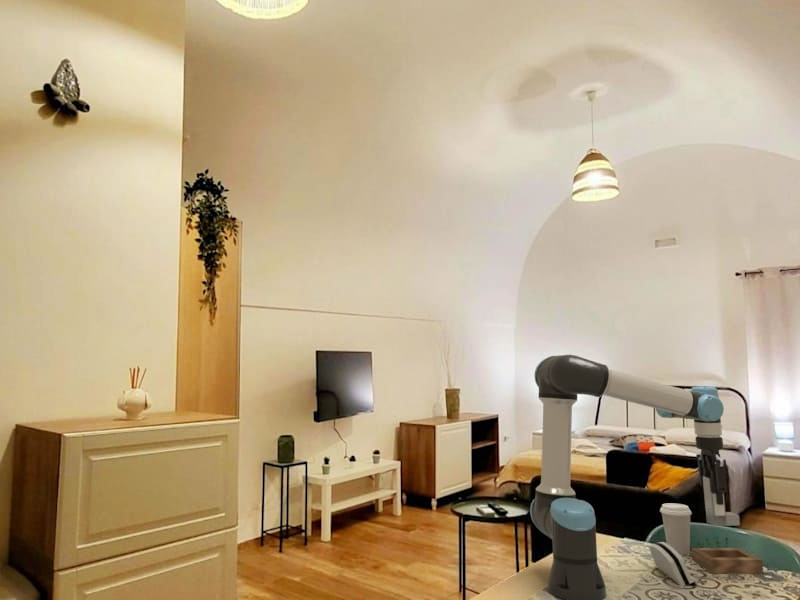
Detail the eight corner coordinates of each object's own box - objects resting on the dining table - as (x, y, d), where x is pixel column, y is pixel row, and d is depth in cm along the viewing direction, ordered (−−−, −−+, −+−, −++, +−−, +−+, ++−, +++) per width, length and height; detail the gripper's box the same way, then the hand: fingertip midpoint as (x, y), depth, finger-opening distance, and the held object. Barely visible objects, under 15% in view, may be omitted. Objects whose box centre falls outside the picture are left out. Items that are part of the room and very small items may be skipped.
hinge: (699, 586, 157) (684, 550, 158) (683, 592, 157) (668, 556, 158) (672, 566, 173) (659, 534, 175) (658, 572, 173) (644, 539, 175)
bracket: (713, 525, 172) (709, 478, 174) (706, 522, 176) (702, 476, 178) (739, 525, 172) (735, 477, 174) (732, 522, 176) (728, 475, 178)
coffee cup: (665, 556, 183) (661, 508, 185) (660, 547, 192) (657, 502, 194) (697, 558, 180) (693, 509, 183) (691, 549, 190) (688, 503, 192)
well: (711, 573, 167) (710, 560, 167) (692, 560, 178) (691, 548, 179) (763, 573, 166) (762, 559, 167) (740, 560, 178) (739, 547, 179)
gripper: (735, 438, 169) (743, 520, 166) (706, 433, 186) (713, 507, 183) (710, 439, 169) (717, 520, 166) (683, 433, 186) (689, 507, 183)
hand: (715, 513), depth 175 cm, fingers closed on bracket, 4 cm apart
